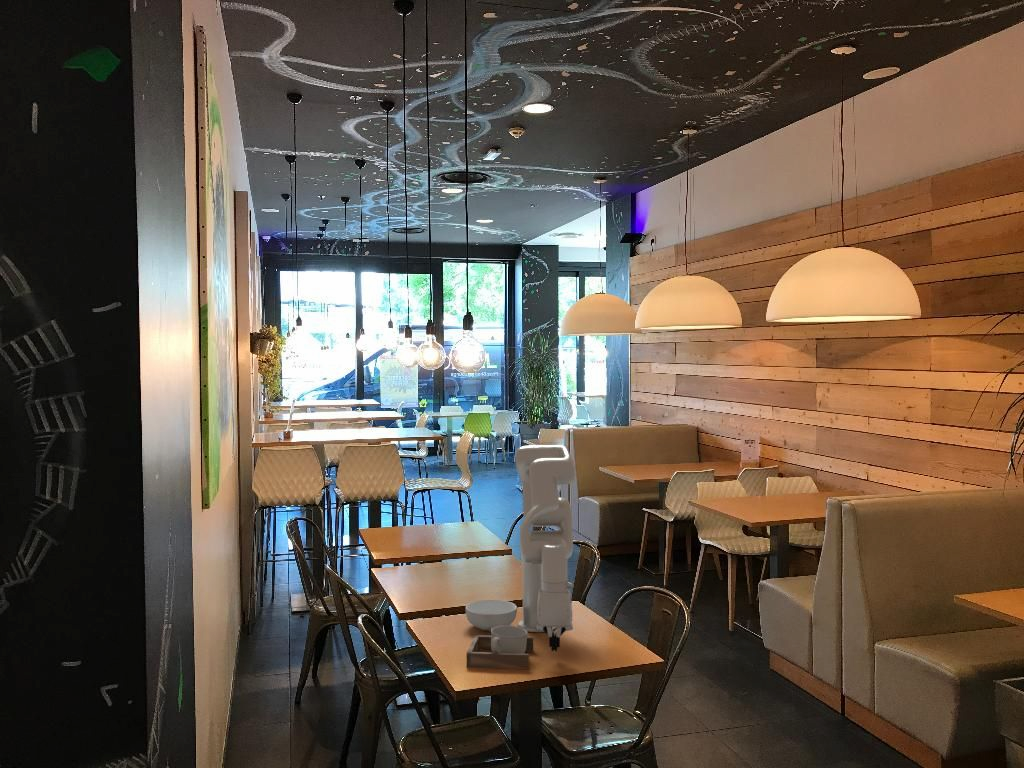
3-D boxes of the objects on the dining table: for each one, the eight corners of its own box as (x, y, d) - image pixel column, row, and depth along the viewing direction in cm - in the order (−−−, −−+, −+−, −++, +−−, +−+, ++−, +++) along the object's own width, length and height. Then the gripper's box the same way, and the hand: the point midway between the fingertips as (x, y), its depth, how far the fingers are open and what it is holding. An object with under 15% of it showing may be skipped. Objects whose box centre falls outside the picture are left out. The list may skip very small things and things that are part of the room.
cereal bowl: (455, 631, 267) (455, 609, 267) (481, 617, 282) (481, 597, 282) (501, 638, 259) (501, 616, 259) (525, 624, 274) (525, 603, 274)
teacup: (508, 648, 249) (508, 622, 249) (535, 656, 242) (535, 629, 242) (475, 660, 239) (475, 632, 239) (502, 669, 232) (502, 640, 232)
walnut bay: (475, 648, 250) (475, 635, 250) (533, 650, 248) (533, 637, 248) (466, 667, 233) (466, 653, 233) (528, 669, 232) (528, 655, 231)
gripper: (580, 584, 241) (581, 646, 241) (530, 582, 243) (530, 644, 243) (579, 590, 234) (579, 654, 234) (527, 589, 236) (527, 652, 236)
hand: (554, 649), depth 239 cm, fingers closed
